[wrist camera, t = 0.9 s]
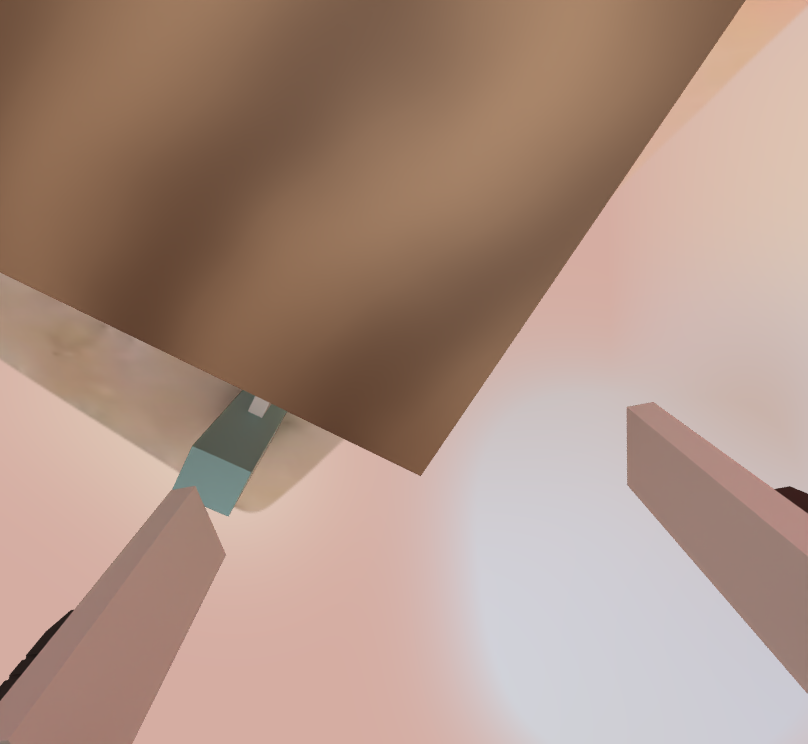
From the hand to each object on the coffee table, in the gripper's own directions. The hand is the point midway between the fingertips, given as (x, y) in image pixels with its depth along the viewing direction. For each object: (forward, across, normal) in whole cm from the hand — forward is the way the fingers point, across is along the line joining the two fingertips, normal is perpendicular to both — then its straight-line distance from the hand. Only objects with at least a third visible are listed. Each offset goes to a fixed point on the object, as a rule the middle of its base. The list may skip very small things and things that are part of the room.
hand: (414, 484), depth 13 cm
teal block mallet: (+23, -10, -2) cm, 25 cm away
